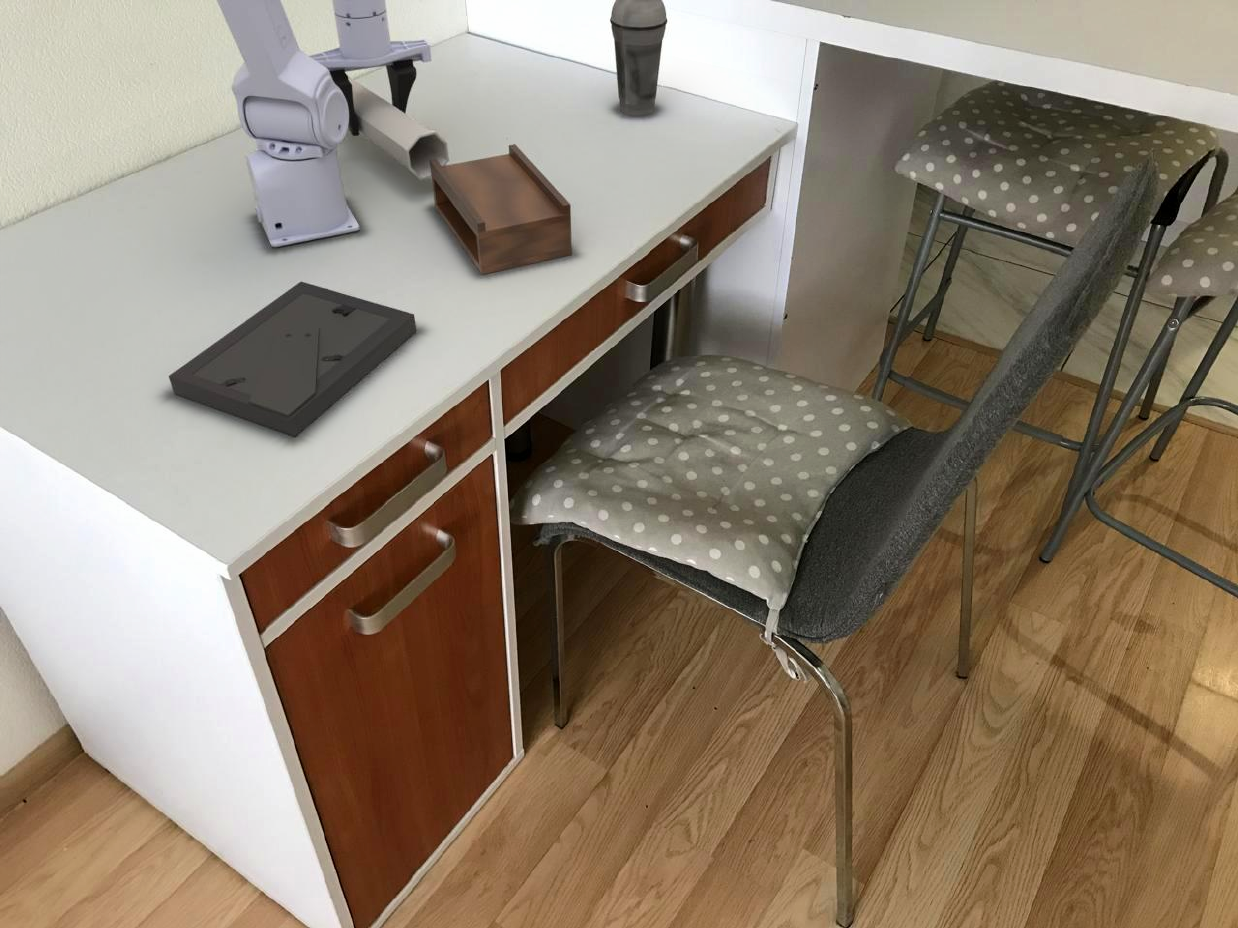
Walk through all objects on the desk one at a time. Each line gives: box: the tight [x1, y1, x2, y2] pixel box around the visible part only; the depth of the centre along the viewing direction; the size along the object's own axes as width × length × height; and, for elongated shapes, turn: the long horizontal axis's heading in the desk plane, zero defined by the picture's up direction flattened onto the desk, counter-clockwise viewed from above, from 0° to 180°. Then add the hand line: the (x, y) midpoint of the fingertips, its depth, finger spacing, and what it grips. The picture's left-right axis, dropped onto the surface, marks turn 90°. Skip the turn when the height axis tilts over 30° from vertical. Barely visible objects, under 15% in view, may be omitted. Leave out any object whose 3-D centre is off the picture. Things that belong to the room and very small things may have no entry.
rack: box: [430, 143, 573, 275], centre depth 113 cm, size 10×16×6 cm, turn 25°
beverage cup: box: [609, 0, 668, 117], centre depth 134 cm, size 7×7×20 cm
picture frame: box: [168, 281, 417, 438], centre depth 95 cm, size 13×2×18 cm
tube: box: [348, 75, 450, 181], centre depth 125 cm, size 5×5×25 cm
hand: (377, 128), depth 126 cm, fingers closed on tube, 5 cm apart
